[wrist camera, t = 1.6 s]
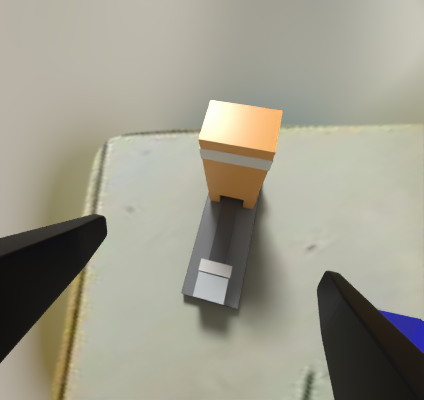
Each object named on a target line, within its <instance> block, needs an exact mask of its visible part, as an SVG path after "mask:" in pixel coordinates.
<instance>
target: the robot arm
mask: <svg viewBox="0 0 424 400" xmlns="http://www.w3.org/2000/svg"><path fill="white" fill-rule="evenodd" d="M106 236H107V225H106V218H105V217H104V216H102V215H98V214H93V215H89V216H85V217H81V218H77V219H73V220H69V221H66V222H61V223H57V224H53V225H50V226H46V227H42V228H38V229H34V230H30V231H27V232H22V233H19V234H14V235H11V236H7V237H3V238H0V363H1V362H2V361H3V360H4V358H5V357H6V356H7V355H8V354H9V353H10V352H11V350H12V349H13V348H14V347H15V346H16V345H17V343H18V342H19V341H20V340H21V339H22V338H23V337H24V335H25V334H26V333H27V332H28V331H29V330H30V329H31V328H32V326H33V325H34V324H35V323H36V322H37V321H38V320H39V318H40V317H41V316H42V315H43V314H44V312H46V310H47V309H48V308H49V307H50V306H51V305H52V304H53V302H54V301H55V300H56V299H57V298H58V297H59V296H60V294H61V293H62V292H63V291H64V290H65V289H66V288H67V286H68V285H69V284H70V283H71V282H72V281H73V280H74V278H75V277H76V276H77V275H78V274H79V273H80V271H81V270H82V269H83V268H84V267H85V265H86V264H87V263H88V261H89V260H90V259H91V257H92V256H93V254H94V253H95V252H96V250H97V249H98V247H99V246H100V245H101V243H102V242H103V241H104V239H105V238H106ZM317 297H318V307H319V318H320V328H321V335H322V341H323V346H324V351H325V356H326V360H327V365H328V370H329V375H330V380H331V385H332V390H333V394H334V399H335V400H424V353H423V352H422V351H421V350H420V349H419V348H418V347H417V346H416V345H415V344H413V343H412V342H411V341H410V340H409V339H408V338H407V337H406V336H405V335H404V334H403V333H402V332H401V331H400V330H399V329H398V328H397V327H395V326H394V325H393V324H392V323H391V322H390V321H389V320H388V319H387V318H386V317H385V316H384V315H383V314H382V313H381V312H380V311H379V310H377V309H376V308H375V307H374V306H373V305H372V304H371V303H370V302H369V301H368V300H367V299H366V298H365V297H364V296H363V295H362V294H361V293H359V292H358V291H357V290H356V289H355V288H354V287H353V286H352V285H351V284H350V283H349V282H348V281H347V280H346V279H345V278H344V277H343V276H341V275H340V274H339V273H337V272H333V271H326V272H325V273H324V275H323V277H322V279H321V281H320V283H319V285H318V288H317Z"/></svg>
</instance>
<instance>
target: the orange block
mask: <svg viewBox="0 0 424 400" xmlns="http://www.w3.org/2000/svg"><path fill="white" fill-rule="evenodd" d="M281 117H282V111H281V110H274V109H267V108H261V107H254V106H247V105H241V104H234V103H227V102H220V101H214V100H211V101H210V105H209V108H208V111H207V114H206V117H205V120H204V123H203V126H202V130H201V133H200V136H199V144H200V147H199V150H200V155H201V158H202V160H203V165H204V170H205V175H206V180H207V186H208V191H209V192H208V193H209V198H210V200H211V201H216V202H220V200H221V196H227V197H232V198H237V199H241V200H244V202H243V206H242V207H244V208H248V209H253V208H254V205H255V203H256V199H257V197H258V194H259V192H260V189H261V187H262V184H263V182H264V179H265V177H266V174H267V172H268V171H269V170H270V167H271V165H272V162H273V158H274V155H275V152H276V146H277V140H278V135H279V129H280V123H281Z"/></svg>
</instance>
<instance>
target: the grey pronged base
mask: <svg viewBox="0 0 424 400" xmlns="http://www.w3.org/2000/svg"><path fill="white" fill-rule="evenodd" d="M259 193H260V192H259ZM258 199H259V194H258V197H257V199H256V203H255V205H254V208H253V209H248V208H244V207H242V206H243V202H244V200H241V199H237V198H232V197H227V196H221V200H220V202H216V201H211V200H210V198H209V193H208V197H207V200H206V204H205V208H204V211H203V215H202V219H201V222H200V226H199V230H198V233H197V237H196V241H195V244H194V248H193V252H192V255H191V259H190V263H189V266H188V270H187V274H186V277H185V281H184V285H183V289H182V292H181V293H182V294H186V295H189V296H193V297H196V298H200V299H203V300H207V301H211V302H214V303H218V304H221V305H225V306H228V307H232V308H235V309H238V306H239V300H240V295H241V290H242V284H243V279H244V274H245V268H246V263H247V258H248V252H249V247H250V242H251V236H252V231H253V226H254V220H255V215H256V210H257V204H258Z"/></svg>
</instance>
